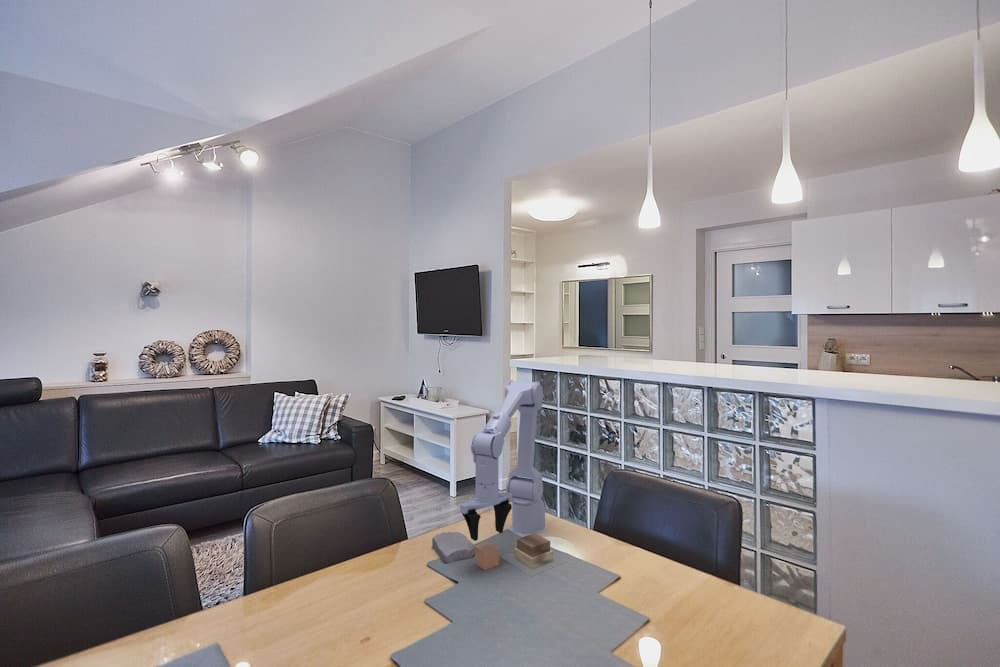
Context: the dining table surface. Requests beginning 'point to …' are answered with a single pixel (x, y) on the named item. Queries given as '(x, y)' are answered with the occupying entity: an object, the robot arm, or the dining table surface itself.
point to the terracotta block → (486, 555)
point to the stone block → (452, 546)
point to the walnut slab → (533, 545)
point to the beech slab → (533, 558)
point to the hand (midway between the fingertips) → (486, 535)
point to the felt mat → (535, 570)
